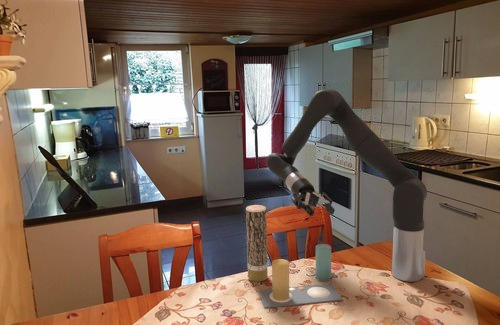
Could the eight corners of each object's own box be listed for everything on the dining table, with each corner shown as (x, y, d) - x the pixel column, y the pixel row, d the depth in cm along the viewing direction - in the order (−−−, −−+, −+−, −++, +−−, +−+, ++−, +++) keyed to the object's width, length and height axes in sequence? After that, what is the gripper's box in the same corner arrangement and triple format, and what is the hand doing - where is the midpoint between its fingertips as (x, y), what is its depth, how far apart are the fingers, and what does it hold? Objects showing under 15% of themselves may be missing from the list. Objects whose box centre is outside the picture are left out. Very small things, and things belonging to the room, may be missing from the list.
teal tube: (327, 273, 126) (328, 243, 125) (333, 280, 121) (333, 249, 120) (313, 274, 126) (313, 244, 124) (318, 281, 121) (318, 250, 119)
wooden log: (268, 273, 128) (266, 204, 124) (267, 282, 121) (265, 210, 117) (249, 273, 128) (246, 204, 124) (246, 282, 122) (244, 210, 118)
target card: (331, 284, 119) (331, 283, 119) (343, 300, 109) (343, 298, 109) (259, 291, 116) (259, 289, 116) (264, 308, 106) (264, 306, 106)
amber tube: (287, 291, 114) (286, 258, 113) (291, 299, 109) (290, 265, 107) (271, 292, 114) (270, 259, 112) (274, 301, 109) (273, 267, 107)
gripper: (286, 177, 129) (309, 205, 117) (318, 177, 136) (343, 203, 124) (280, 194, 133) (302, 223, 121) (311, 193, 139) (335, 220, 127)
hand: (323, 213), depth 122 cm, fingers open, 8 cm apart
